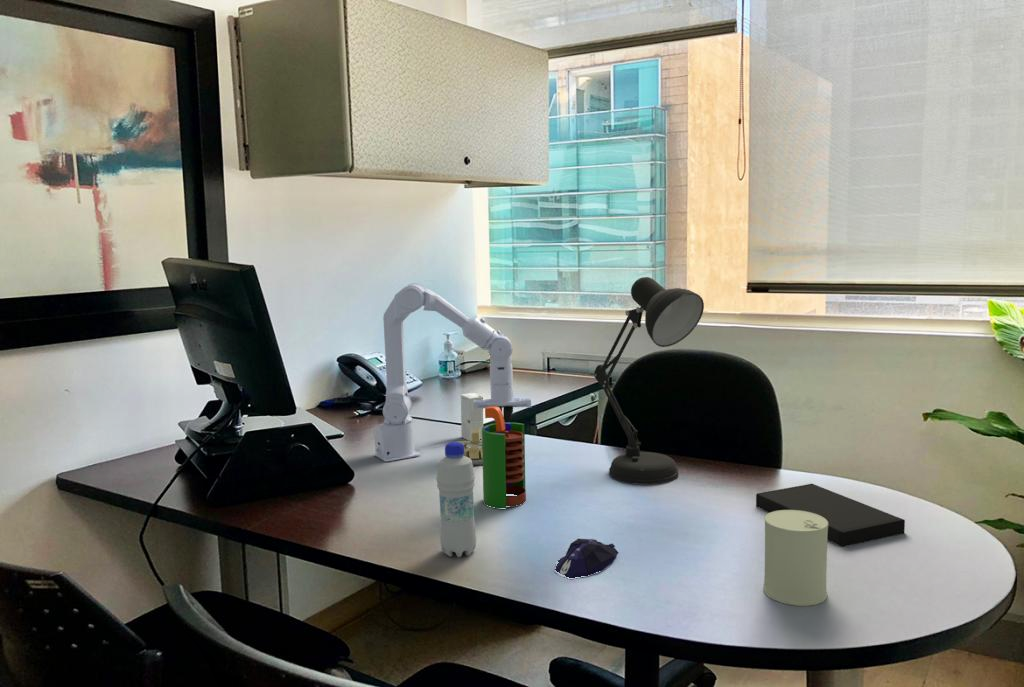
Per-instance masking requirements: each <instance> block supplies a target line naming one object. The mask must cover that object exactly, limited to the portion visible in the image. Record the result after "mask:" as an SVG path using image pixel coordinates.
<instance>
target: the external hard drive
mask: <svg viewBox="0 0 1024 687" xmlns="http://www.w3.org/2000/svg"><path fill="white" fill-rule="evenodd" d="M755 506H756V507H757V508H759V509H762V510H763V511H765V512H767V513H770V512H773V511H779V510H800V511H806V512H811V513H814V514H817V515H820V516H822V517H824V518H825V519H826V520H827V521H828V534H827V541H829V542H830V543H833V544H834V545H837V546H839V547H841V548H844V547H849V546H854V545H858V544H861V543H866V542H867V543H868V542H871V541H876V540H880V539H885V538H889V537H895V536H899V535H902V534H905V525H906V522H905V519H903V518H900V517H898V516H896V515H893V514H891V513H889V512H885V511H883V510H880V509H879V508H875V507H873V506H870V505H868V504H865V503H863V502H861V501H858V500H855V499H853V498H850V497H847V496H846V495H842V494H839V493H837V492H835V491H831V490H830V489H827V488H824V487H822V486H819V485H816V484H814V483H807V484H802V485H801V484H800V485H797V486H792V487H791V486H789V487H786V488H780V489H775V490H769V491H764V492H763V491H762V492H759V493H756V494H755Z"/></svg>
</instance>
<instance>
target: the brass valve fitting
mask: <svg viewBox="0 0 1024 687" xmlns="http://www.w3.org/2000/svg"><path fill="white" fill-rule="evenodd" d="M457 442H460V443H462V444H463V445H464V456H465V457H468V458H470V459H479V458H483V457H482V448H478V449H477V445H471V449H469V448H466V445H467V444H469V443H482V440H480V429H472V440H471V441H470V440H462V441H460V440H459V441H457Z"/></svg>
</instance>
